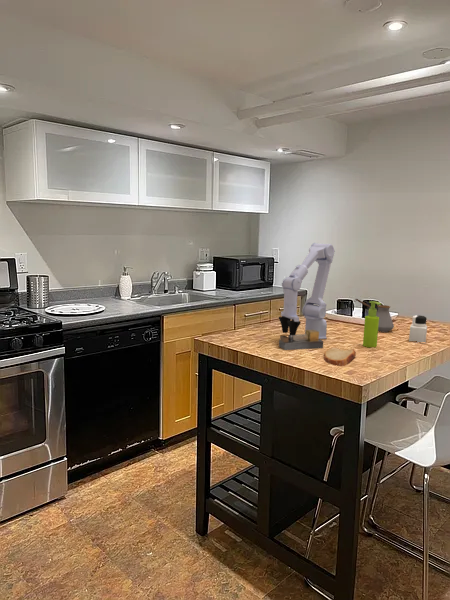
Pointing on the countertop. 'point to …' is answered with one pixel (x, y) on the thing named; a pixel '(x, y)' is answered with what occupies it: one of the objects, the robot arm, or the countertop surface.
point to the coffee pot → (382, 317)
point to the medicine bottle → (418, 329)
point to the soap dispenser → (371, 326)
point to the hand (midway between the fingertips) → (288, 334)
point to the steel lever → (298, 337)
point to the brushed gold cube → (312, 335)
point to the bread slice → (339, 356)
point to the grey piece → (298, 344)
